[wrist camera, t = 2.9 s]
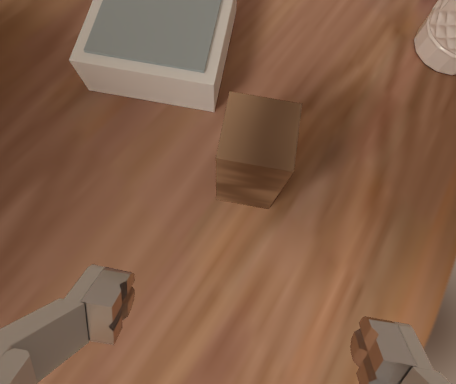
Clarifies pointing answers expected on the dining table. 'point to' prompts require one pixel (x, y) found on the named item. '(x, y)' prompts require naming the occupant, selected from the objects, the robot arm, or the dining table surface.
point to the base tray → (156, 49)
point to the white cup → (438, 38)
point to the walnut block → (256, 149)
